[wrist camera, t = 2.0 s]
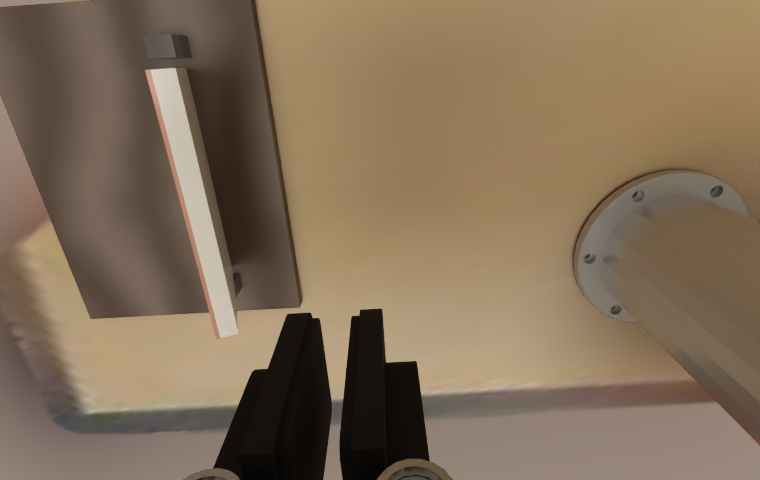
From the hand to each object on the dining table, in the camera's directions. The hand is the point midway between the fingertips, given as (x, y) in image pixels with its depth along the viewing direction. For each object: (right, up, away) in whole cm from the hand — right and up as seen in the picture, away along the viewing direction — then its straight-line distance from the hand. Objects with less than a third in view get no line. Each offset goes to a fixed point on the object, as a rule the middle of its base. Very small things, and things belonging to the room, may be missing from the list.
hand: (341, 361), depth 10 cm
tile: (-9, +6, +15) cm, 18 cm away
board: (-15, +8, +20) cm, 26 cm away
